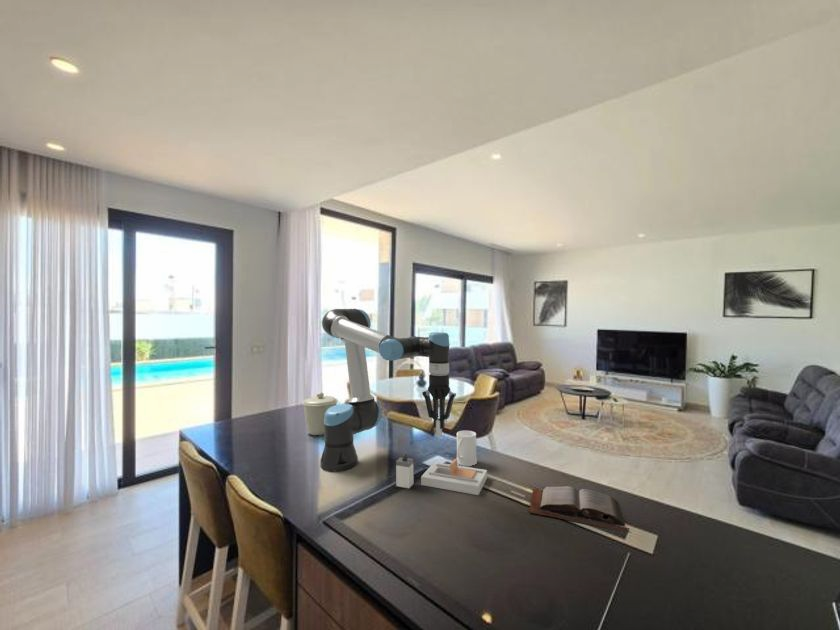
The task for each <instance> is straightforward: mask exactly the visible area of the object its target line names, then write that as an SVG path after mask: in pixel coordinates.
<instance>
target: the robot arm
mask: <svg viewBox="0 0 840 630" xmlns="http://www.w3.org/2000/svg"><path fill="white" fill-rule="evenodd" d="M371 323H372V322H371V319H370V316H369V314H368V313H367V312H366V311H364V310H363V309H358V308H333V309H330V310H328V311H327V312H326V313H324V315H323V318H322V320H321V326H322V329H323V331H324V332H325V334H327V335H329V336H331V337H333V338H336V339H340V341H341V342H343V343H344V346H345V355H346V364H347V371H348V380H349V391H350V398H349V400H348V402H347V403H342V404H337V405H335V406H332V407H330V408H329V409H327V410H326V412H325V419H324V426H325V435H324V448H323V451H322V454H321V458H320V468H321V469H322V470H324V471H327V472H343V471H346V470H347V471H348V470H350V469H352V468H354V467H356V466H357V465H358V463H359V457H358V456H359V455H358V454H357V450H356V447H355V444H354V435H356V434H359V433H361V432H364V431H368V430H371V429H372V428H375V427H377V426H378V425H379V423H380V422H381V419H382V413H383V412H382V407H381V405H379V402H378V401H376V400H375V396H374V395H372V394H371V386H370V379H369V378H370V377H369V371H368V364H367V354H366V349H368V350H371V351H373V352H376V353H378V354H379V355H380V356H381V358H382V359H383V360H385V361H392V362H393V361H396V360H397V361H398V360H402V359H408V358H416V357H422V358H423V357H425V358H428V372H429V375H428V387H427V389H426V390H423V391H422V393H421V394H422V396H423V397H424V401H425V406H426V410H427V414H428V417H429V418H430V419H431V418H432V420H433V428H434V429H435V438H436V439H440V438H441V437H443V429H445V421H446V420H448V419H449V418H450V415H451V413H452V412H451V411H452V408H453V403H454V400H455V398H456V396H457V393H456V392H453V391H452V390H451V388H450V375H449V373H450V346H451V345H450V335H449V334H448V333H447V332H441V331H440V332H437V331H436V332H429V334H428V336H427V337H426V336H425V337H424V336H416V335H411V336H409V335H408V336H406V337H401V338H400V337H399V338H398V337H395V336H391V335H389V334H387V333H385V332H384V333H383V332H382V331H379V330H376V329H373V328H371V325H372V324H371ZM431 397H432V400H431ZM446 397H448V401H447V404H446ZM432 402H433V403H432Z"/></svg>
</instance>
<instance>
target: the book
mask: <svg viewBox="0 0 840 630" xmlns="http://www.w3.org/2000/svg"><path fill="white" fill-rule="evenodd" d="M528 513H531V514H536V515H539V516H547V517H550V518H557V519H560V520H565V521H570V522H576V523H578V524H585V525H589V526H594V527H600V528H604V529H610V530H614V531H621V532H627V533H630V534H631V533H632V532H631V531H629V530H628V529H631V528H630V527H629V528H628V527H626V525H625V524H626V523H625V521H627V520H626V519H624V517H623V516H622V515H623V514H622V511H621V508H620V505H619V502H618V501H617V499H615V498H614V497H612V496H611V495H608V494H604V493H602V492H598V491H596V490H592V489H587V488H585V489H584V488H581V489H580V490H578V489H577V488H575V487H573V486H568V485H566V486H546V487H545V488H543V489H541V490H540V488H539V487H535V486H533V488H532V494H531V499H530V505H529V509H528ZM603 516H608V518H607V519H605V518H603Z"/></svg>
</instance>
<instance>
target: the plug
mask: <svg viewBox="0 0 840 630" xmlns="http://www.w3.org/2000/svg"><path fill="white" fill-rule="evenodd" d="M395 465H396V466H395V471H396V472H395V475H396V476H395V477H396V478H395V480H396V484H395V485H396V487H399V488H405V489H410V488H411V487H412V486H413V485H414V458H409V457H408V453H402V454H401V457H399V458H398V459H397V460H396V461H395Z"/></svg>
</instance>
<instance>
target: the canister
mask: <svg viewBox="0 0 840 630" xmlns="http://www.w3.org/2000/svg"><path fill="white" fill-rule="evenodd" d="M338 402H339V399H337V398H336V397H334V396H329V395H325V394H324V392H322V391H319V392H317V393H316V396H311V397H308V398H306V399H305V400H303V401H302V402H301V404H302V405H303V411H304V412H303V413H304V419H305V425H306V431H307V433H308V434H309V435H312V436H317V435H318V436H325V426H324V419H325V412H326V410H327V409H329V408H330V407H332V406H335V405H338V404H337V403H338Z"/></svg>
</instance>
